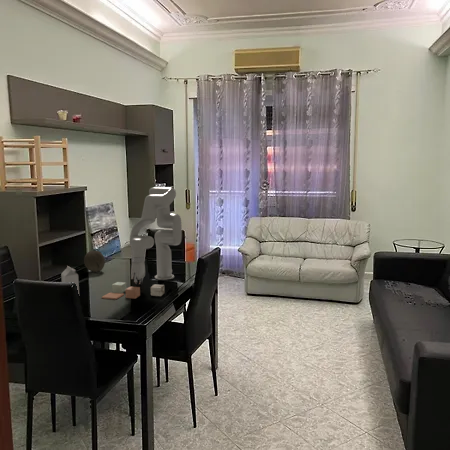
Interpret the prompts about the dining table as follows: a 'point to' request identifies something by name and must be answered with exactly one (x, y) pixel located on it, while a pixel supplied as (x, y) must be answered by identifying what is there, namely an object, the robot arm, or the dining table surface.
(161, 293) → the cream block
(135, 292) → the terracotta block
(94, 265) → the cantaloupe
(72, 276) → the milk carton
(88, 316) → the dining table surface
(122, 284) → the sage block
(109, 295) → the colour tile
